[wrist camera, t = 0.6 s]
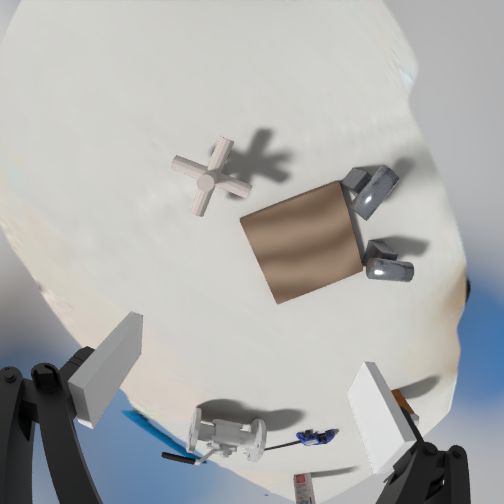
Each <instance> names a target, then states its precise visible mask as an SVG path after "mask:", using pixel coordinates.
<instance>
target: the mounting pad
mask: <svg viewBox="0 0 504 504" xmlns="http://www.w3.org/2000/svg"><path fill="white" fill-rule="evenodd" d="M240 223H241V225H242V227H243V229H244V232H245V234H246V236H247V238H248V241H249V243H250V245H251V247H252V249H253V252H254V254H255V256H256V258H257V261H258V263H259V265H260V267H261V270H262V272H263V274H264V276H265V278H266V281H267V283H268V285H269V287H270V290H271V292H272V294H273V296H274V299H275V301H276V303H277V304H280V303H283V302H285V301H288V300H291V299H293V298H296V297H299V296H301V295H304V294H307V293H309V292H312V291H314V290H317V289H319V288H322V287H325V286H327V285H330V284H332V283H335V282H337V281H339V280H342V279H344V278H347V277H349V276H352V275H354V274H356V273H359V272H361V271H363V268H362V263H361V259H360V255H359V251H358V247H357V243H356V239H355V235H354V231H353V227H352V224H351V220H350V216H349V213H348V209H347V206H346V203H345V199H344V196H343V193H342V189H341V186H340V183H339V182H337V181H334V182H331V183H329V184H326V185H323V186H321V187H318V188H315V189H313V190H310V191H307V192H305V193H302V194H299V195H297V196H294V197H292V198H289V199H287V200H284V201H281V202H279V203H276V204H274V205H271V206H269V207H266V208H264V209H261V210H259V211H256V212H254V213H251V214H249V215H246V216H244V217H241V218H240Z"/></svg>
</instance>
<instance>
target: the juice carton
mask: <svg viewBox="0 0 504 504" xmlns="http://www.w3.org/2000/svg"><path fill="white" fill-rule="evenodd" d="M294 487H295V496H296V504H316V503H315V497H314V491H313V485H312V479H311V473H304V474H297V475H294Z"/></svg>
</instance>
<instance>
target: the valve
mask: <svg viewBox="0 0 504 504" xmlns="http://www.w3.org/2000/svg"><path fill="white" fill-rule="evenodd" d="M212 423H213V424H214V426H212V425H207V424H202V423H201V408H197V407H195V409H194V412H193V415H192V418H191V423H190V427H189V432H188V438H187V452H189V453H193V452H194V449H195V446H196V443H197V440H202V441H207V442H211V443H208V444H207V445H206V447H207V448H209V449H212V450H211V451H210V452H209V453H208V454H206V455H205V456H204V457H203V458H202V459H200V460H197V459H193V458H188V457H183V456H179V455H174V454H170V453H166V452H162V457H163V458H166V459H170V460H175V461H179V462H184V463H188V464H194V465H200V464H201V463H202V462H203V461H205V460H206V459H207V458H208V457H209V456H210V455H211V454H219V455H220V457H221V458H228V457H229V455H231V454H232V453H234V452H237V447H245V448H246V456H247V459H248V461H250V462H258V461H259V460H260V458H261V456H262V455H263V452H264V449H265V444H266V435H267V432H266V425H265V422H264V421H263V419H255V420H253V422H252V423H251V425H250V427H249V430H248V431H241V430H240V429H242V428H243V424H241V423H237V422H232V421H226V420H220V419H214V420H212Z"/></svg>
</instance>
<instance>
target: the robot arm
mask: <svg viewBox="0 0 504 504" xmlns="http://www.w3.org/2000/svg"><path fill="white" fill-rule="evenodd" d="M142 326H143V315H141V314H138V313H134V312H130V313H129V314H128V315H127V316H126V317H125V318H124V319H123V321H122V322H121V323H120V324H119V325H118V326H117V327H116V328H115V329H114V330H113V331H112V332H111V333H110V334H109V336H108V337H107V338H106V339H105V340H104V341H103V342H102V343H101V344H100V345H99V346H98V347H97V349H96V350H95V349H92V348H90V347H88V346H86V347H84V348H82V349H80V350H78V351H77V352H76V353H75V354H74V355H73V357H71V358H70V359H69V361H68V362H67V363H66V364H65V365H64V366H63V367H62V368H61V369H60V370H59V371H58V369H57V368H56V367H55V366H54V365H52V364H50V363H40V364H37V365H35V366H34V367H33V368H32V370H31V376H32V379H33V381H32V380H28V379H25V378H23V377H22V374H21V372H20V371H19V370H18V369H17V368H15V367H5V368H3V369H1V370H0V504H32V455H33V441H34V432H35V423H39V424H40V430H41V435H42V441H43V446H44V451H45V455H46V459H47V463H48V467H49V471H50V474H51V478H52V481H53V484H54V488H55V490H56V494H57V496H58V500H59V502H60V504H103V503H102V501H101V498H100V496H99V494H98V492H97V489H96V487H95V485H94V482H93V480H92V477H91V475H90V472H89V470H88V467H87V464H86V462H85V459H84V456H83V453H82V450H81V447H80V444H79V440H78V437H77V434H76V430H75V427H74V423H73V419H74V418H75V417H76V415H77V418H78V421H79V422H80V423H81V424H83V425H85V426H87V427H89V428H91V429H93V428H94V427H95V425H96V423H97V422H98V420H99V419H100V417H101V415H102V414H103V412H104V411H105V409H106V407H107V406H108V404H109V403H110V401H111V399H112V398H113V396H114V395H115V393H116V392H117V390H118V388H119V387H120V385H121V384H122V382H123V381H124V379H125V378H126V376H127V374H128V373H129V371H130V370H131V368H132V367H133V365H134V364H135V362H136V361H137V359H138V358H139V356H140V355H141V348H142ZM347 397H348V400H349V402H350V405H351V408H352V411H353V414H354V416H355V419H356V422H357V425H358V428H359V431H360V434H361V437H362V439H363V442H364V445H365V448H366V451H367V454H368V457H369V460H370V464H371V467H372V470H373V473H374V474H380V473H386V472H387V471H388V470H390V469H391V467H393V468H394V470H395V471H394V472H393V473H392V474H391V475H390V476H389V477H388V478H386V479H385V480H384V483H385V482H386V481H387V480H388V482H387V484H386V486H385V487H384V489H383V491H382V493H381V495H380V497H379V498H378V500H377V502H376V504H471V500H470V482H469V469H468V462H467V461H468V460H467V454H466V451H465V450H464V448H462V447H461V446H458V445H453V446H451V448H450V449H449V450H448V451H438V449H437V447H436V446H435V445H433V444H432V443H429V442H424V440H423V438H422V436H421V434H420V432H419V431H418V429H417V427H416V425H414V424H415V423H414V421H413V420H412V418H411V416H410V414H409V412H408V411H407V410H406V409H405V408H404V407H403V406H400V407H399V405H398V403H397V402H396V400H395V398H394V396H393V394H392V392H391V391H390V389H389V387H388V385H387V384H386V382H385V380H384V378H383V376H382V375H381V373H380V371H379V369H378V368H377V366H376V364H375V363H374V362H364V363H363V365H362V367H361V369H360V371H359V373H358V374H357V376H356V378H355V380H354V382H353V384H352V386H351V387H350V389H349V391H348V393H347ZM443 480H444V485H443Z"/></svg>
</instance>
